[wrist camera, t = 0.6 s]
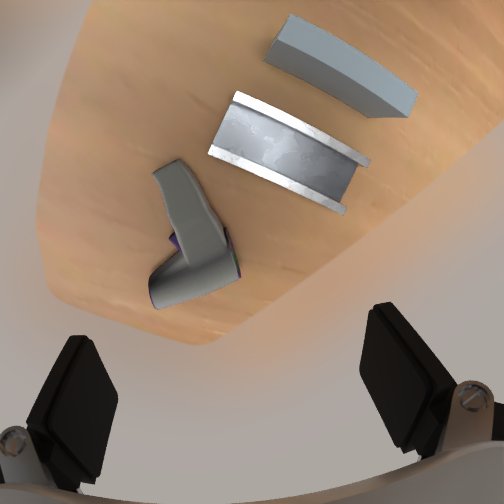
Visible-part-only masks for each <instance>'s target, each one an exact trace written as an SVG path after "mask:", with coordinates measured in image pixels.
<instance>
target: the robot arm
mask: <svg viewBox="0 0 504 504" xmlns="http://www.w3.org/2000/svg"><path fill="white" fill-rule="evenodd" d="M359 371H360V375H361V378H362V380H363V382H364V384H365V385H366V388H367V389H368V392H369V394H370V395H371V398H372V400H373V402H374V403H375V406H376V408H377V410H378V412H379V414H380V416H381V418H382V420H383V422H384V424H385V426H386V428H387V430H388V432H389V434H390V436H391V438H392V440H393V443H394V445H395V446H396V447H397V448H399V447H400V448H401V450H402V452H403V454H405V453H407V452H410V451H412V450H415V449H416V451H417V453H418V455H419V457H418V460H417V462H416V463H413V464H411V465H408V466H405V467H402V468H400V469H397V470H394V471H391V472H388V473H385V474H382V475H379V476H375V477H372V478H369V479H366V480H362V481H359V482H355V483H352V484H348V485H345V486H340V487H337V488H332V489H328V490H324V491H319V492H315V493H309V494H304V495H299V496H294V497H287V498H280V499H273V500H266V501H256V502H246V503H235V504H504V404H501V403H497V402H494V396H493V394H492V392H491V390H490V389H489V388H488V387H487V386H486V385H484V384H483V383H481V382H478V381H465V382H462V383H460V384H459V385H457V383H456V382H455V381H454V379H453V378H452V376H451V375H450V374H449V372H448V371H447V370H446V368H445V367H444V366H443V365H442V363H441V362H440V361H439V359H438V358H437V357H436V356H435V354H434V353H433V352H432V351H431V349H430V348H429V347H428V346H427V344H426V343H425V342H424V341H423V339H422V338H421V337H420V336H419V335H418V333H417V332H416V331H415V330H414V328H413V327H412V326H411V325H410V323H409V322H408V321H407V320H406V319H405V318H404V316H403V315H402V314H401V313H400V312H399V311H398V309H397V308H396V307H395V306H394V305H393V303H391V302H386V303H380V304H376V305H374V307H373V309H372V310H370V311H369V313H368V320H367V326H366V333H365V339H364V345H363V350H362V356H361V361H360V367H359ZM117 403H118V394H117V391H116V389H115V387H114V386H113V383H112V381H111V379H110V378H109V375H108V373H107V371H106V369H105V367H104V365H103V363H102V361H101V359H100V356H99V354H98V352H97V349H96V347H95V345H94V343H93V341H92V340H90V339H89V338H88V337H87V336H85V335H73V336H70V337H69V339H68V340H67V342H66V344H65V345H64V347H63V349H62V351H61V353H60V354H59V356H58V358H57V360H56V362H55V364H54V365H53V367H52V369H51V371H50V373H49V375H48V377H47V379H46V381H45V383H44V385H43V387H42V389H41V391H40V393H39V395H38V397H37V399H36V401H35V403H34V405H33V407H32V409H31V412H30V414H29V416H28V418H27V420H26V423H27V425H28V426H27V429H25V428H24V427H21V426H12V427H9V428H7V429H5V430H4V431H3V432H2V433H1V434H0V504H153V503H141V502H131V501H123V500H115V499H109V498H102V497H96V496H90V495H84V494H83V492H82V491H81V489H80V482H83V483H89V484H95V481H96V477H99V476H100V474H101V469H102V465H103V460H104V455H105V451H106V447H107V442H108V438H109V434H110V430H111V426H112V422H113V418H114V415H115V410H116V407H117ZM154 504H155V503H154ZM233 504H234V503H233Z"/></svg>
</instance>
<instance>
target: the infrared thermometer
mask: <svg viewBox="0 0 504 504" xmlns="http://www.w3.org/2000/svg"><path fill="white" fill-rule="evenodd" d="M151 175H152V176H153V177H154V179H155V180H156V181H157V183H158V186H159V188H160V190H161V193H162V197H163V200H164V204H165V208H166V211H167V215H168V218H169V220H170V223H171V225H172V226H173V228H174V231H175V232H174V233H172V234H171V235H170V237H169V240H170V241H171V242H172V243H173V244H174V245H175V246H176V247H177V248H178V249H179V252H177V253H176V254H175V255H174V256H173V257H171V258H170V259H169V260H168V261H166V262H165V263H164V264H163V265H162V266H160V267H159V268H158V269H157V270H156V271H154V272H153V273H152V274H151V275H150V277H149V282H148V286H149V294H150V298H151V301H152V304H153V306H154V308H155V309H157V310H160V309H163V308H166V307H169V306H172V305H175V304H178V303H182V302H185V301H188V300H191V299H194V298H197V297H200V296H204V295H207V294H209V293H211V292H213V291H215V290H218V289H220V288H222V287H224V286H226V285H228V284H231V283H233V282H235V281H237V280H239V279H240V278H241V272H240V268H239V264H238V261H237V258H236V255H235V251H234V248H233V245H232V242H231V239H230V236H229V234H228V231H227V229H226V227H225V228H223V227H222V225H221V223H220V221H219V219H218V216H217V215H216V214H215V213H214V211H213V210H212V209H211V208H210V205H209V203H208V200H207V198H206V196H205V194H204V192H203V190H202V188H201V186H200V184H199V182H198V181H197V179H196V177H195V176H194V174H193V173H192V171H191V170H190V169H189V167H188V166H187V165H186V164H185V163H184V162H183V161H182V160H180V159H178V160H175V161H173V162H171V163H169V164H168V165H166V166H164V167H162V168H160V169H159V170H157V171H155V172H153V173H152V174H151Z"/></svg>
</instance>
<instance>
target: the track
mask: <svg viewBox="0 0 504 504" xmlns="http://www.w3.org/2000/svg"><path fill="white" fill-rule="evenodd" d="M208 154H209V155H212V156H214V157H217V158H219V159H222V160H224V161H226V162H229V163H231V164H234V165H236V166H238V167H241V168H243V169H245V170H247V171H250V172H252V173H254V174H257V175H259V176H261V177H263V178H266V179H268V180H270V181H272V182H275V183H277V184H279V185H281V186H283V187H285V188H288V189H290V190H292V191H294V192H296V193H298V194H300V195H303V196H305V197H307V198H309V199H311V200H313V201H315V202H317V203H319V204H321V205H323V206H325V207H327V208H329V209H331V210H333V211H335V212H337V213H339V214H341V215H344V213H345V211H346V209H347V207H346V206H344V205H343V204H341V203H340V200H341V198H342V196H343V194H344V192H345V190H346V188H347V186H348V184H349V182H350V180H351V178H352V176H353V174H354V172H355V170H356V168H357V166H358V165H359V166H363V167H366V168H368V165H369V163H370V161H371V160H370V159H368V158H367V157H365V156H363V155H362V154H360V153H358V152H357V151H355V150H353V149H352V148H350V147H348V146H347V145H345V144H343V143H341V142H340V141H338V140H336V139H334V138H333V137H331V136H329V135H327V134H325V133H324V132H322V131H320V130H318V129H316V128H314V127H312V126H310V125H309V124H307V123H305V122H303V121H301V120H299V119H297V118H295V117H293V116H291V115H289V114H287V113H285V112H283V111H281V110H279V109H276V108H274V107H272V106H270V105H268V104H266V103H264V102H261V101H259V100H257V99H255V98H252V97H250V96H248V95H246V94H243V93H241V92H239V91H237V92H236V94H235V96H234V98H233V100H232V102H231V105H230V107H229V109H228V111H227V113H226V115H225V117H224V119H223V121H222V124H221V126H220V128H219V130H218V132H217V134H216V137H215V139H214V141H213V143H212V145H211V147H210V150H209V152H208Z"/></svg>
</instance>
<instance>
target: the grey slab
mask: <svg viewBox="0 0 504 504" xmlns="http://www.w3.org/2000/svg"><path fill="white" fill-rule="evenodd" d="M263 61H264V62H266V63H269V64H271V65H273V66H275V67H277V68H279V69H281V70H284V71H286V72H288V73H290V74H292V75H294V76H296V77H298V78H300V79H302V80H304V81H305V82H307V83H309V84H311V85H313V86H315V87H317V88H319V89H320V90H322V91H324V92H326V93H328V94H329V95H331V96H333V97H335V98H336V99H338V100H340V101H342V102H343V103H345V104H347V105H348V106H350V107H352V108H353V109H355V110H356V111H358V112H360V113H361V114H363V115H364V116H366V117H368V118H384V117H398V118H408V117H409V115H410V112H411V110H412V108H413V105H414V103H415V101H416V98H417V96H418V92H417V91H415V90H414V89H413V88H411V87H410V86H409V85H408V84H406V83H405V82H404V81H402V80H401V79H400V78H398V77H397V76H396V75H394V74H393V73H391V72H390V71H389V70H387V69H386V68H384V67H383V66H381V65H380V64H379V63H377V62H376V61H374V60H373V59H371V58H370V57H368V56H367V55H365V54H363V53H362V52H360V51H359V50H357V49H356V48H354V47H352V46H351V45H349V44H347V43H346V42H344V41H342V40H341V39H339V38H337V37H335V36H334V35H332V34H330V33H328V32H326V31H325V30H323V29H321V28H319V27H317V26H315V25H313V24H311V23H309V22H307V21H305V20H303V19H301V18H299V17H297V16H295V15H293V14H291V15H290V16H289V18H288V19H287V21H286V22H285V24H284V25H283V27H282V28H281V30H280V31H279V33H278V34H277V36H276V37H275V39H274V40H273V42H272V44H271V46H270V48H269V50H268V52H267V54H266V55H265V57H264V59H263Z"/></svg>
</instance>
